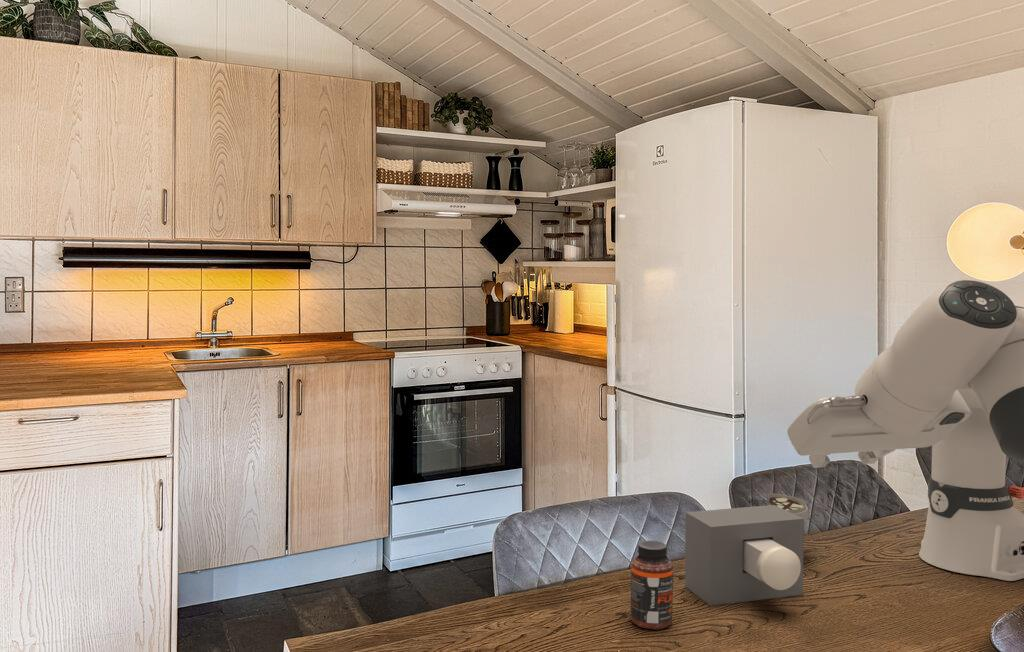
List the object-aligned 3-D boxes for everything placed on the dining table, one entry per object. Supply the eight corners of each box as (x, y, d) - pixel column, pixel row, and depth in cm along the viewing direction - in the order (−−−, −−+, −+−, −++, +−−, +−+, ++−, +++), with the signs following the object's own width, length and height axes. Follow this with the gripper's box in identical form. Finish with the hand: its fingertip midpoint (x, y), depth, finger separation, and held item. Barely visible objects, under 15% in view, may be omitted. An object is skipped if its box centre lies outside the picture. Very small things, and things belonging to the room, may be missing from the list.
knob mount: (772, 576, 130) (773, 504, 129) (802, 594, 122) (803, 518, 121) (685, 586, 126) (685, 512, 125) (710, 605, 118) (710, 527, 117)
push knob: (768, 568, 122) (769, 530, 122) (800, 587, 114) (801, 547, 114) (734, 572, 121) (734, 534, 120) (764, 592, 113) (764, 551, 113)
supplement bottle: (663, 635, 108) (664, 554, 107) (623, 625, 111) (624, 546, 111) (678, 619, 113) (679, 542, 113) (640, 610, 116) (640, 535, 116)
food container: (814, 571, 132) (815, 513, 131) (776, 569, 133) (776, 511, 133) (802, 548, 144) (803, 494, 143) (767, 545, 145) (768, 492, 145)
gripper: (833, 422, 86) (779, 488, 96) (983, 413, 92) (918, 477, 102) (808, 377, 90) (759, 445, 100) (954, 372, 96) (893, 436, 106)
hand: (840, 461), depth 101 cm, fingers open, 6 cm apart
